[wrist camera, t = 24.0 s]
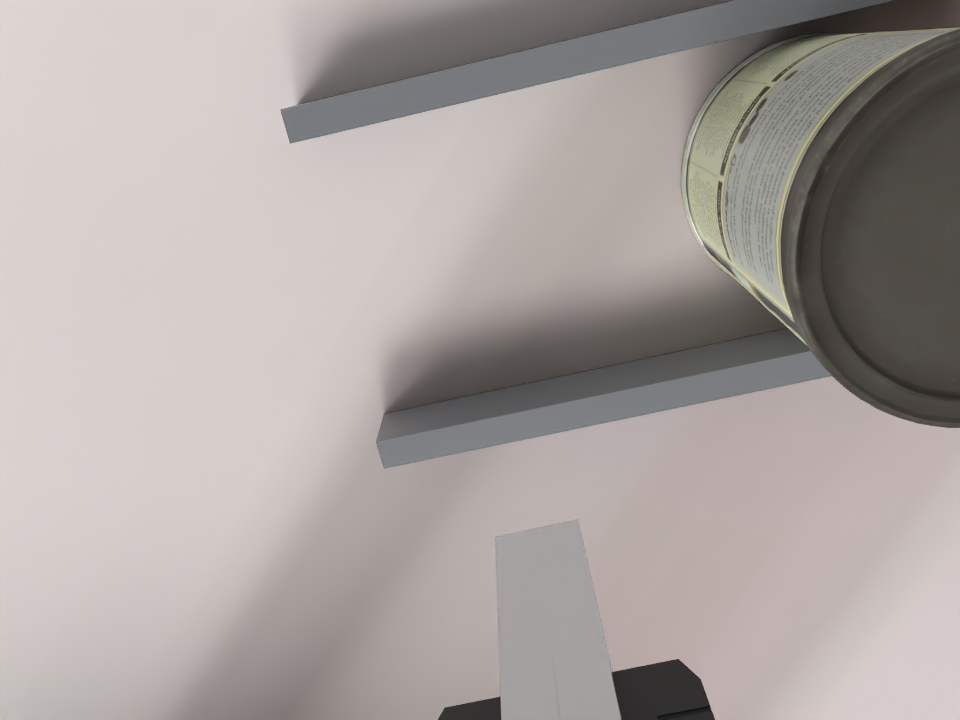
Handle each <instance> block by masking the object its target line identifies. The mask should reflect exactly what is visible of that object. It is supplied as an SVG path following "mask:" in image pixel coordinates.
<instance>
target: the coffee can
mask: <svg viewBox="0 0 960 720" xmlns="http://www.w3.org/2000/svg"><path fill="white" fill-rule="evenodd" d="M681 192H682V196H683V201H684V208H685V212H686V215H687V218H688V221H689V224H690V227H691V229H692V231H693V233H694V235H695V237H696V239H697V241H698V242H699V244H700V246H701V247H702V248H703V250H704V251H705V252H706V254H707V255H708V256H709V257H710V259H711V260H712V261H713V262H714V263H715V264H716V265H717V266H718V267H719V268H720V269H721V270H723V271H724V272H726V273H727V274H729V275H730V276H732V277H733V278H735V279H736V280H737V281H738V282H739V283H740V284H741V285H742V286H743V287H744V288H745V289H747V290H748V291H749V292H750V293H751V294H752V295H753V296H754V297H755V298H756V299H757V300H758V301H759V302H760V303H761V304H762V305H763V306H764V307H765V308H767V309H768V310H769V311H770V312H771V313H772V314H773V315H775V316H776V317H777V318H778V319H779V320H780V321H781V322H782V323H783V324H784V325H785V326H787V327H788V328H789V329H790V330H791V331H792V332H793V333H794V334H795V335H796V336H797V337H798V338H799V339H800V340H802V341H803V342H804V343H805V344H806V345H807V346H808V348H809V349H810V351H811V352H812V354H813V355H814V356H815V357H816V359H817V360H818V361H819V362H820V363H821V365H822V366H823V367H824V368H825V369H826V370H827V371H828V372H829V373H830V374H831V375H832V376H833V377H834V378H835V379H836V380H837V381H838V382H839V383H840V384H841V385H843V386H844V387H845V388H846V389H847V390H848V391H850V392H851V393H853V394H854V395H856V396H857V397H858V398H860V399H861V400H863V401H865V402H867V403H869V404H870V405H872V406H873V407H875V408H877V409H879V410H881V411H884V412H886V413H888V414H891V415H893V416H896V417H899V418H902V419H905V420H908V421H912V422H915V423H919V424H925V425H931V426H939V427H947V428H960V27H947V28H931V29H919V30H907V31H892V32H873V33H855V34H854V33H850V34H837V33H813V34H806V35H800V36H796V37H793V38H789V39H786V40H783V41H780V42H777V43H775V44H773V45H770V46H768V47H766V48H764V49H762V50H761V51H759V52H757V53H755V54H753V55H752V56H750V57H749V58H748V59H746V60H745V61H743V62H742V63H741V64H739V65H738V66H737V67H736V68H734V69H733V70H732V71H731V72H730V73H729V74H728V75H727V76H726V77H724V78H723V79H722V81H721V82H719V83H718V84H717V85H716V87H715V88H714V89H713V91H712V92H711V93H710V95H709V96H708V98H707V100H706V101H705V103H704V105H703V106H702V108H701V109H700V111H699V113H698V115H697V116H696V119H695V121H694V123H693V125H692V128H691V130H690V133H689V135H688V138H687V143H686V147H685V151H684V156H683V163H682V180H681Z"/></svg>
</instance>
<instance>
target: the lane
mask: <svg viewBox="0 0 960 720" xmlns="http://www.w3.org/2000/svg"><path fill="white" fill-rule="evenodd" d="M890 1H894V0H732V1H728V2H724V3H720V4H716V5H711V6H707V7H703V8H699V9H695V10H691V11H686V12H682V13H678V14H674V15H670V16H666V17H661V18H657V19H653V20H649V21H645V22H641V23H636V24H632V25H628V26H624V27H620V28H616V29H611V30H607V31H603V32H599V33H595V34H591V35H586V36H582V37H578V38H574V39H570V40H566V41H561V42H557V43H553V44H549V45H545V46H541V47H536V48H532V49H528V50H524V51H520V52H516V53H511V54H507V55H503V56H499V57H495V58H491V59H486V60H482V61H478V62H474V63H470V64H466V65H461V66H457V67H453V68H449V69H445V70H441V71H436V72H432V73H428V74H424V75H420V76H416V77H411V78H407V79H403V80H399V81H395V82H391V83H386V84H382V85H378V86H374V87H370V88H366V89H361V90H357V91H353V92H349V93H345V94H341V95H336V96H332V97H328V98H324V99H320V100H316V101H312V102H307V103H303V104H299V105H295V106H292V107H288V108H285V109H282V110H281V113H282V117H283V120H284V124H285V127H286V131H287V134H288V138H289V141H290V143H294V142H299V141H303V140H307V139H311V138H315V137H320V136H324V135H328V134H332V133H337V132H341V131H345V130H349V129H353V128H358V127H362V126H366V125H370V124H374V123H379V122H383V121H387V120H391V119H396V118H400V117H404V116H408V115H412V114H417V113H421V112H425V111H429V110H434V109H438V108H442V107H446V106H450V105H455V104H459V103H463V102H467V101H472V100H476V99H480V98H484V97H488V96H493V95H497V94H501V93H505V92H510V91H514V90H518V89H522V88H526V87H531V86H535V85H539V84H543V83H548V82H552V81H556V80H560V79H564V78H569V77H573V76H577V75H581V74H586V73H590V72H594V71H598V70H602V69H607V68H611V67H615V66H619V65H624V64H628V63H632V62H636V61H640V60H645V59H649V58H653V57H657V56H662V55H666V54H670V53H674V52H678V51H683V50H687V49H691V48H695V47H700V46H704V45H708V44H712V43H716V42H721V41H725V40H729V39H733V38H738V37H742V36H746V35H750V34H754V33H759V32H763V31H767V30H771V29H776V28H780V27H784V26H788V25H792V24H797V23H801V22H805V21H809V20H814V19H818V18H822V17H826V16H830V15H835V14H839V13H843V12H847V11H852V10H856V9H860V8H864V7H868V6H873V5H877V4H881V3H885V2H890ZM829 376H832V375H831V374H830V373H829V372H828V371H827V370H826V369H825V368H824V367H823V366H822V365H821V363H820V362H819V361H818V360H817V359H816V357H815V356H814V355H813V354H812V352H811V351H810V349H809V348H808V346H807V345H806V344H805V343H804V342H803V341H802V340H800V339H799V338H798V337H797V336H796V335H795V334H794V333H793V332H792V331H791V330H790V329H789V328H787V329H782V330H777V331H773V332H768V333H763V334H759V335H754V336H749V337H744V338H740V339H735V340H730V341H726V342H721V343H716V344H711V345H707V346H702V347H697V348H692V349H688V350H683V351H678V352H674V353H669V354H664V355H659V356H655V357H650V358H645V359H640V360H636V361H631V362H626V363H622V364H617V365H612V366H607V367H603V368H598V369H593V370H589V371H584V372H579V373H574V374H570V375H565V376H560V377H555V378H551V379H546V380H541V381H537V382H532V383H527V384H522V385H518V386H513V387H508V388H504V389H499V390H494V391H489V392H485V393H480V394H475V395H470V396H466V397H461V398H456V399H452V400H447V401H442V402H437V403H433V404H428V405H423V406H418V407H414V408H409V409H404V410H400V411H395V412H390V413H385V414H384V416H383V419H382V423H381V426H380V430H379V434H378V437H377V441H376V443H377V447H378V450H379V453H380V457H381V460H382V464H383V467H384V468H389V467H394V466H399V465H403V464H408V463H413V462H418V461H423V460H428V459H432V458H437V457H442V456H447V455H452V454H457V453H461V452H466V451H471V450H476V449H481V448H486V447H490V446H495V445H500V444H505V443H510V442H515V441H519V440H524V439H529V438H534V437H539V436H544V435H548V434H553V433H558V432H563V431H568V430H573V429H577V428H582V427H587V426H592V425H597V424H602V423H606V422H611V421H616V420H621V419H626V418H631V417H635V416H640V415H645V414H650V413H655V412H659V411H664V410H669V409H674V408H679V407H684V406H688V405H693V404H698V403H703V402H708V401H713V400H717V399H722V398H727V397H732V396H737V395H742V394H746V393H751V392H756V391H761V390H766V389H771V388H775V387H780V386H785V385H790V384H795V383H800V382H804V381H809V380H814V379H819V378H824V377H829Z"/></svg>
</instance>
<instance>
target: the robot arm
mask: <svg viewBox="0 0 960 720" xmlns="http://www.w3.org/2000/svg"><path fill="white" fill-rule="evenodd" d="M495 543H496V573H497V603H498V634H499V664H500V694H501V697H497V698H492V699H487V700H482V701H477V702H472V703H466V704H461V705H456V706H451V707H446V708H444V710H443V712H442V714H441V715H440V717H439V719H438V720H715V718H714V715H713V713H712V711H711V708H710V704H709V701H708V699H707V696H706V693H705V690H704V687H703V685H702V682H701V679H700V678H699V677H698V676H696V675H695V674H694V673H693V672H692V671H691V670H690V669H689V668H688V667H687V666H685V665H684V664H683V663H682V662H681V661H680V660H679V659H676V660H671V661H666V662H661V663H656V664H651V665H646V666H641V667H636V668H631V669H626V670H621V671H616V672H612V667H611V662H610V658H609V653H608V648H607V644H606V640H605V635H604V631H603V626H602V622H601V618H600V613H599V609H598V605H597V600H596V596H595V591H594V587H593V583H592V578H591V574H590V569H589V565H588V561H587V556H586V552H585V547H584V543H583V539H582V534H581V530H580V526H579V521H578V519H577V520H573V521H568V522H563V523H559V524H554V525H549V526H544V527H540V528H535V529H530V530H525V531H521V532H516V533H511V534H506V535H502V536H497V537H495Z"/></svg>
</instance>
